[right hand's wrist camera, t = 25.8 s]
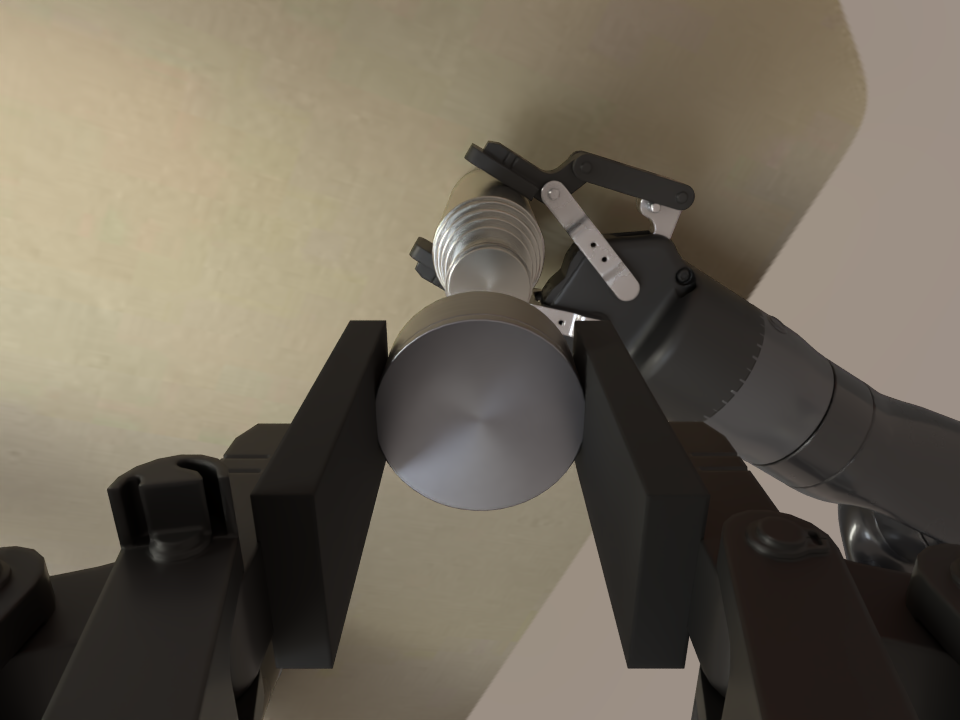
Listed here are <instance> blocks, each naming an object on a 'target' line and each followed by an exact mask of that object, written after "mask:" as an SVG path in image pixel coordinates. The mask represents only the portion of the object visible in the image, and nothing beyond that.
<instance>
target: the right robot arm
mask: <svg viewBox="0 0 960 720" xmlns="http://www.w3.org/2000/svg"><path fill="white" fill-rule="evenodd" d="M572 357H573V360H574V363H575V366H576V369H577V372H578V375H579V378H580V381H581V384H582V386H583V390H584V394H585V415H584V430H583V442H582V445H581V448H580V451H579V452H578V454H577V456H576V458H575V464H576V468H577V472H578V476H579V480H580V484H581V488H582V492H583V496H584V499H585V503H586V507H587V511H588V515H589V519H590V523H591V527H592V531H593V535H594V538H595V542H596V546H597V550H598V554H599V558H600V562H601V566H602V570H603V573H604V577H605V581H606V585H607V589H608V593H609V597H610V601H611V605H612V608H613V612H614V616H615V620H616V624H617V628H618V632H619V636H620V640H621V644H622V648H623V651H624V655H625V659H626V663H627V667H628V668H671V669H673V668H674V669H677V668H678V669H681V668H682V669H683V668H684V667H685V661H686V654H687V648H688V641H689V636H690V639H691V641H692V644H693V646H694V649H695V651H696V654H697V657H698V659H699V662H700V669H699V675H698V681H697V687H696V693H695V699H694V706H693V712H692V718H691V720H960V544H949V543H944V544H938V545H932V546H927V547H926V548H925V549H924V550H923V551H921V552H920V553H919V554H918V555H917V558H916V562H915V565H914V568H913V572H912V574H911V573H906V572H901V571H896V570H891V569H886V568H881V567H876V566H871V565H866V564H861V563H858V562H854V561H850V560H846V559H844V558H843V556H842V554H841V552H840V550H839V548H838V547H837V545H836V544H835V543H834V542H833V540H832V539H831V538H830V537H829V535H828V534H826V533H825V532H823V531H822V530H820V529H819V528H818V527H816V526H815V525H813V524H812V523H810V522H807V521H805V520H802V519H800V518H798V517H795V516H793V515H790V514H785V513H781V512H779V510H778V509H777V508H776V506H775V505H774V503H773V502H772V501H771V499H770V498H769V497H768V495H767V494H766V492H765V491H764V490H763V488H762V487H761V485H760V484H759V483H758V481H757V480H756V478H755V477H754V476H753V474H752V473H751V471H748V470H747V466H746V464H745V463H744V462H743V460H742V459H741V457H740V456H737V452H736V450H735V449H734V448H733V446H732V445H731V443H730V442H729V441H728V439H727V438H726V436H724V435H723V434H721V433H720V432H718V431H717V430H715V429H714V428H712V427H710V426H709V425H707V424H706V423H704V422H668V420H667V418H666V417H665V415H664V413H663V411H662V410H661V408H660V406H659V404H658V403H657V401H656V399H655V397H654V396H653V394H652V392H651V391H650V389H649V387H648V385H647V384H646V382H645V380H644V378H643V377H642V375H641V373H640V371H639V370H638V368H637V366H636V364H635V363H634V361H633V359H632V357H631V356H630V354H629V352H628V350H627V349H626V347H625V345H624V343H623V342H622V340H621V338H620V336H619V335H618V333H617V331H616V330H615V328H614V326H613V324H612V323H611V321H585V320H574V336H573V354H572ZM387 360H388V346H387V328H386V321H350V322H349V323H348V325H347V327H346V329H345V330H344V332H343V334H342V336H341V337H340V339H339V341H338V343H337V344H336V346H335V348H334V350H333V351H332V353H331V355H330V356H329V358H328V360H327V362H326V363H325V365H324V367H323V369H322V370H321V372H320V374H319V376H318V377H317V379H316V381H315V383H314V384H313V386H312V388H311V390H310V391H309V393H308V395H307V397H306V398H305V400H304V402H303V404H302V405H301V407H300V409H299V411H298V412H297V414H296V416H295V417H294V419H293V421H292V423H291V424H257V425H255V426H254V427H252V428H251V429H249V430H248V431H246V432H245V433H243V434H241V435H240V436H238V437H237V438H235V440H234V441H233V443H232V444H231V445H230V447H229V448H228V450H227V451H226V453H225V454H224V458H223V459H221V460H219V459H217V458H213V457H209V456H205V455H177V456H171V457H165V458H160V459H156V460H153V461H151V462H148V463H145V464H142V465H139V466H136V467H135V468H133V469H131V470H130V471H128V472H126V473H124V474H123V475H121V476H119V477H118V478H117V479H116V480H115V481H114V482H113V483H112V484H111V485H110V486H109V488H108V489H107V492H108V496H109V500H110V504H111V508H112V512H113V517H114V521H115V525H116V529H117V533H118V537H119V541H120V545H121V551H120V553H119V555H118V557H117V560H116V562H114V563H110V564H107V565H103V566H99V567H94V568H89V569H84V570H79V571H74V572H69V573H64V574H59V575H54V576H49V573H48V570H47V567H46V563H45V560H44V557H42V556H41V555H40V554H39V553H38V552H37V551H35V550H34V549H29V548H24V547H18V546H13V547H2V548H0V720H262V713H263V705H264V696H265V695H264V688H263V681H262V675H261V669H260V667H261V664H262V661H263V659H264V656H265V654H266V651H267V648H268V646H269V643H270V641H271V638H272V645H273V651H274V658H275V664H276V669H333V665H334V661H335V657H336V653H337V649H338V645H339V641H340V638H341V634H342V630H343V626H344V622H345V618H346V614H347V610H348V606H349V603H350V599H351V595H352V591H353V587H354V583H355V579H356V575H357V571H358V567H359V564H360V560H361V556H362V552H363V548H364V544H365V540H366V536H367V532H368V528H369V525H370V521H371V517H372V513H373V509H374V505H375V501H376V497H377V493H378V489H379V486H380V482H381V478H382V474H383V470H384V466H385V462H386V459H385V457H384V455H383V453H382V451H381V449H380V446H379V444H378V436H377V420H376V405H375V395H376V390H377V387H378V384H379V382H380V379H381V376H382V373H383V371H384V368H385V365H386V362H387Z"/></svg>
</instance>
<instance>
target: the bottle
mask: <svg viewBox="0 0 960 720" xmlns="http://www.w3.org/2000/svg"><path fill="white" fill-rule="evenodd" d="M432 258H433V264H434V268H435V271H436V275H437V277H438V279H439V281H440V283H441V285H442V286H443V288H444V289H445V294H446V297H447V296H451V295H455V294H458V293H464V292H471V291H489V292H497V293H502V294H506V295H510V296H513V297H516V298H518V299H521V300H523V301H525V302H527V303H529V301H530V298H531V295H532V289H533V288H534V287H535V285H536V283H537V282H538V280H539V277H540V275H541V272H542V269H543V264H544V258H545V245H544V239H543V235H542V232H541V230H540V227H539V225H538V223H537V220H536V218H535V215H534V213H533V211H532V208H531V206H530V204H529V201H528V199H527V198H526V197H524V196H522V195H521V194H519V193H518V192H517V191H515V190H513V189H512V188H510V187H508V186H507V185H505V184H503V183H502V182H500V181H499V180H497V179H496V178H494V177H492V176H491V175H489V174H488V173H486V172H485V171H483V170H481V169H477V170H474V171H472V172H470V173H468V174H466V175H465V176H464V177H462V178H461V179H460V180H459V181H458V182H457V184H456V185H455V187H454V188H453V190H452V192H451V195H450V197H449V200H448V202H447V205H446V207H445V210H444V213H443V215H442V218H441V220H440V223H439V225H438V228H437V230H436V233H435V236H434V240H433V246H432Z"/></svg>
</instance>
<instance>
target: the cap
mask: <svg viewBox="0 0 960 720" xmlns="http://www.w3.org/2000/svg"><path fill="white" fill-rule="evenodd" d="M375 405H376V420H377V436H378V444H379V446H380V449H381V451H382V453H383V455H384V457H385V459H386V461H387V462H388V464H389V465H390V466H391V468H392V469H393V471H394V472H395V473H396V474H397V475H398V476H399V477H400V478H401V479H402V480H403V481H404V482H405V483H406V484H407V485H408V486H410V487H411V488H412V489H413V490H415V491H416V492H418V493H420V494H421V495H423V496H424V497H426V498H429V499H431V500H433V501H435V502H437V503H440V504H443V505H446V506H449V507H454V508H458V509H464V510H473V511H488V510H497V509H503V508H507V507H512V506H515V505H518V504H521V503H524V502H526V501H528V500H530V499H532V498H534V497H536V496H538V495H540V494H541V493H543V492H544V491H546V490H547V489H549V488H550V487H551V486H552V485H554V484H555V483H556V482H557V481H558V480H559V479H560V478H561V477H562V476H563V475H564V474H565V473H566V471H567V470H568V469H569V467H570V466H571V465H572V463H573V462H574V460H575V458H576V456H577V454H578V452H579V451H580V448H581V445H582V442H583V430H584V415H585V394H584V390H583V386H582V384H581V381H580V378H579V375H578V372H577V369H576V366H575V363H574V360H573V357H572V354H571V351H570V349H569V346H568V344H567V342H566V340H565V338H564V337H563V335H562V333H561V332H560V330H559V329H558V328H557V326H556V325H555V324H554V323H553V322H552V321H551V320H550V319H549V318H548V317H547V316H546V315H545V314H544V313H543V312H541V311H540V310H538V309H537V308H536V307H534V306H532V305H531V304H529V303H527V302H525V301H523V300H521V299H518V298H516V297H513V296H510V295H506V294H502V293H497V292H489V291H471V292H464V293H458V294H455V295H451V296H447V297H445V298H442V299H440V300H438V301H435V302H434V303H432V304H430V305H428V306H427V307H425V308H424V309H422V310H421V311H420V312H418V313H417V314H416V315H415V316H414V317H413V318H412V319H411V320H410V321H409V322H408V323H407V324H406V325H405V326H404V328H403V329H402V330H401V332H400V333H399V335H398V336H397V338H396V340H395V342H394V344H393V346H392V349H391V351H390V354H389V357H388V360H387V362H386V365H385V368H384V371H383V373H382V376H381V379H380V382H379V384H378V387H377V390H376V395H375Z"/></svg>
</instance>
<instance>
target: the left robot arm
mask: <svg viewBox="0 0 960 720" xmlns="http://www.w3.org/2000/svg"><path fill="white" fill-rule="evenodd" d="M464 158H465V159H466V160H468V161H469V162H470V163H472V164H473V165H475V166H477V167H478V168H480V169H481V170H483V171H485V172H486V173H488V174H489V175H491V176H492V177H494V178H496V179H497V180H499V181H500V182H502V183H503V184H505V185H507V186H508V187H510V188H512V189H513V190H515V191H517V192H518V193H519V194H521V195H522V196H524V197H526V198H527V199H529V200H530V201H532V199H533V197H534V198H536V199H537V200H539V201H540V202H542V203H544V204H545V205H546V206H547V207H548V208H549V210H550V211H551V212H552V213H553V215H554V216H555V217H556V219H557V220H558V221H559V222H560V224H561V225H562V226H563V228H564V229H565V230H566V231H567V233H568V234H569V236H570V237H571V238H572V239H573V241H574V242H573V244H572V245H571V247H570V248H569V250H568V251H567V253H566V255H565V258H564V261H563V263H562V266H561V269H560V270H559V271H558V272H557V273H555V274H554V275H553V276H552V277H551V278H550V279H549V280H548V282H547V283H546V285H545V286H544V288H543V289H537V288H533V289H532V295H531V298H530V301H529V304H531V305H532V306H534V307H536V308H537V309H538V310H540V311H541V312H543V313H544V314H545V315H546V316H547V317H548V318H549V319H550V320H551V321H552V322H553V323H554V324H555V325H556V326H557V328H558V329H559V330H560V332H561V333H562V335H563V337H564V338H565V340H566V342H567V344H568V346H569V349H570V351H571V354H573V336H574V320H585V321H611V323H612V324H613V326H614V328H615V330H616V331H617V333H618V335H619V336H620V338H621V340H622V342H623V343H624V345H625V347H626V349H627V350H628V352H629V354H630V356H631V357H632V359H633V361H634V363H635V364H636V366H637V368H638V370H639V371H640V373H641V375H642V377H643V378H644V380H645V382H646V384H647V385H648V387H649V389H650V391H651V392H652V394H653V396H654V397H655V399H656V401H657V403H658V404H659V406H660V408H661V410H662V411H663V413H664V415H665V417H666V418H667V420H668V421H669V422H704V423H706V424H707V425H709V426H710V427H712V428H714V429H715V430H717V431H718V432H720V433H721V434H723V435H724V436H726V438H727V439H728V441H729V442H730V443H731V445H732V446H733V448H734V449H735V450H736V452H737V456H740V457H741V459H743V460H745V461H747V462H749V463H750V464H752V465H754V466H756V467H757V468H759V469H761V470H762V471H764V472H766V473H767V474H769V475H771V476H773V477H774V478H776V479H778V480H779V481H781V482H783V483H785V484H786V485H788V486H789V487H791V488H793V489H795V490H797V491H799V492H801V493H803V494H805V495H807V496H810V497H813V498H816V499H819V500H822V501H826V502H831V503H837V504H838V519H839V526H840V532H841V537H842V541H843V546H844V550H845V555H846V559H847V560H850V561H854V562H858V563H861V564H866V565H871V566H876V567H881V568H886V569H891V570H896V571H901V572H906V573H911V574H912V572H913V568H914V565H915V562H916V558H917V555H918V554H919V553H920V552H921V551H923V550H924V549H925V548H926V547H927V546H932V545H938V544H944V543H949V544H960V421H957V420H955V419H952V418H949V417H947V416H944V415H941V414H939V413H936V412H933V411H931V410H928V409H926V408H923V407H920V406H917V405H913V404H910V403H906V402H903V401H900V400H897V399H894V398H891V397H888V396H885V395H883V394H880V393H879V392H877V391H876V390H874V389H873V388H871V387H870V386H869V385H867V384H866V383H864V382H863V381H861V380H859V379H858V378H856V377H855V376H853V375H852V374H850V373H849V372H847V371H845V370H844V369H842V368H841V367H839V366H838V365H836V364H835V363H833V362H831V361H830V360H828V359H827V358H825V357H824V356H823V355H821V354H820V353H818V352H817V351H816V350H815V349H814V348H813V347H811V346H810V345H809V344H808V343H807V342H806V341H805V340H804V339H803V338H801V337H800V336H799V335H798V334H797V333H795V332H794V331H792V330H791V329H789V328H788V327H786V326H785V325H783V323H782V322H780V321H779V320H778V319H777V318H775V317H773V316H770V315H768V314H766V313H765V312H763V311H762V310H760V309H759V308H757V307H756V306H754V305H752V304H751V303H749V302H748V301H746V300H745V299H743V298H742V297H740V296H739V295H737V294H735V293H734V292H732V291H731V290H729V289H728V288H726V287H725V286H723V285H722V284H720V283H718V282H717V281H715V280H714V279H712V278H711V277H709V276H708V275H706V274H704V273H703V272H701V271H700V270H698V269H697V268H695V267H694V266H692V265H691V264H689V263H687V262H686V261H684V260H683V259H682V258H681V257H680V255H679V253H678V252H677V249H676V247H675V245H674V243H673V242H672V241H671V240H670V239H671V236H672V234H673V231H674V229H675V227H676V224H677V222H678V219H679V217H680V214H681V212H682V210H685V209H687V208H689V207H690V206H691V205H692V203H693V201H694V198H695V194H694V191H693V189H692V188H691V187H690V186H688V185H686V184H684V183H681V182H679V181H676V180H674V179H671V178H668V177H664V176H661V175H658V174H655V173H652V172H649V171H645V170H642V169H639V168H636V167H633V166H630V165H626V164H623V163H620V162H617V161H614V160H611V159H607V158H604V157H601V156H598V155H595V154H592V153H588V152H585V151H580V150H579V151H575V152H573V153H572V154H571V155H570V157H569V159H568V160H567V161H565V162H564V163H563V164H562V165H560V166H559V167H558V168H556V169H554V170H551V171H544V170H541V169H539V168H538V167H536V166H535V165H533V164H532V163H530V162H529V161H527V160H526V159H524V158H522V157H521V156H519V155H518V154H516V153H515V152H513V151H512V150H510V149H508V148H507V147H505V146H504V145H502V144H501V143H499V142H493V141H488V142H487V144H486V146H485V147H484V149H482V148H480V147H479V146H477V145H475V144H473V143H472V145H471V146H470V148H469V150H468V152H467V153H466V155H465V157H464ZM586 182H589V183H592V184H595V185H598V186H602V187H605V188H608V189H611V190H614V191H618V192H621V193H624V194H627V195H631V196H634V197H637V201H636V207H637V210H638V211H639V212H640V213H641V214H642V215H644V216H645V217H647V218H648V219H649V221H650V229H649V230H648V231H636V232H623V233H610V234H601V233H600V232H599V230H598V229H597V228H596V226H595V225H594V224H593V223H592V221H591V220H590V219H589V217H588V216H587V215H586V214H585V212H584V211H583V210H582V208H581V207H580V206H579V204H578V203H577V202H576V201H575V199H574V198H573V197H572V195H571V194H572V193H573V192H575V191H576V190H577V189H578V188H580V187H581V186H582V185H584V184H585V183H586ZM432 246H433V243H431V242H429V241H428V240H426V239H424V238H422V237H419V238H418V239H417V241H416V243H415V244H414V246H413V248H412V250H411V252H410V256H411V257H412V258H413V259H415V260H416V261H418V263H417V265H416V268H415V269H416V271H417V272H418V273H419V274H420V276H421V277H422V278H424V279H425V280H427V281H429V282H431V283H433V284H434V285H436V286H437V287H440V288H441V289H443V290H444V291H445V289H444V288H443V286H442V285H441V283H440V281H439V279H438V277H437V275H436V271H435V268H434V264H433V258H432ZM538 300H540V302H537V301H538ZM260 669H261V675H262V681H263V688H264V695H265V696H264V705H263V713H262V720H263V717H264V714H265V712H266V709H267V706H268V704H269V701H270V698H271V696H272V693H273V690H274V687H275V684H276V681H277V680H278V678H279V676H280V674H281V672H282V669H276V664H275V658H274V651H273V645H272V638H271V641H270V643H269V646H268V648H267V651H266V654H265V656H264V659H263V661H262V664H261V667H260Z"/></svg>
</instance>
